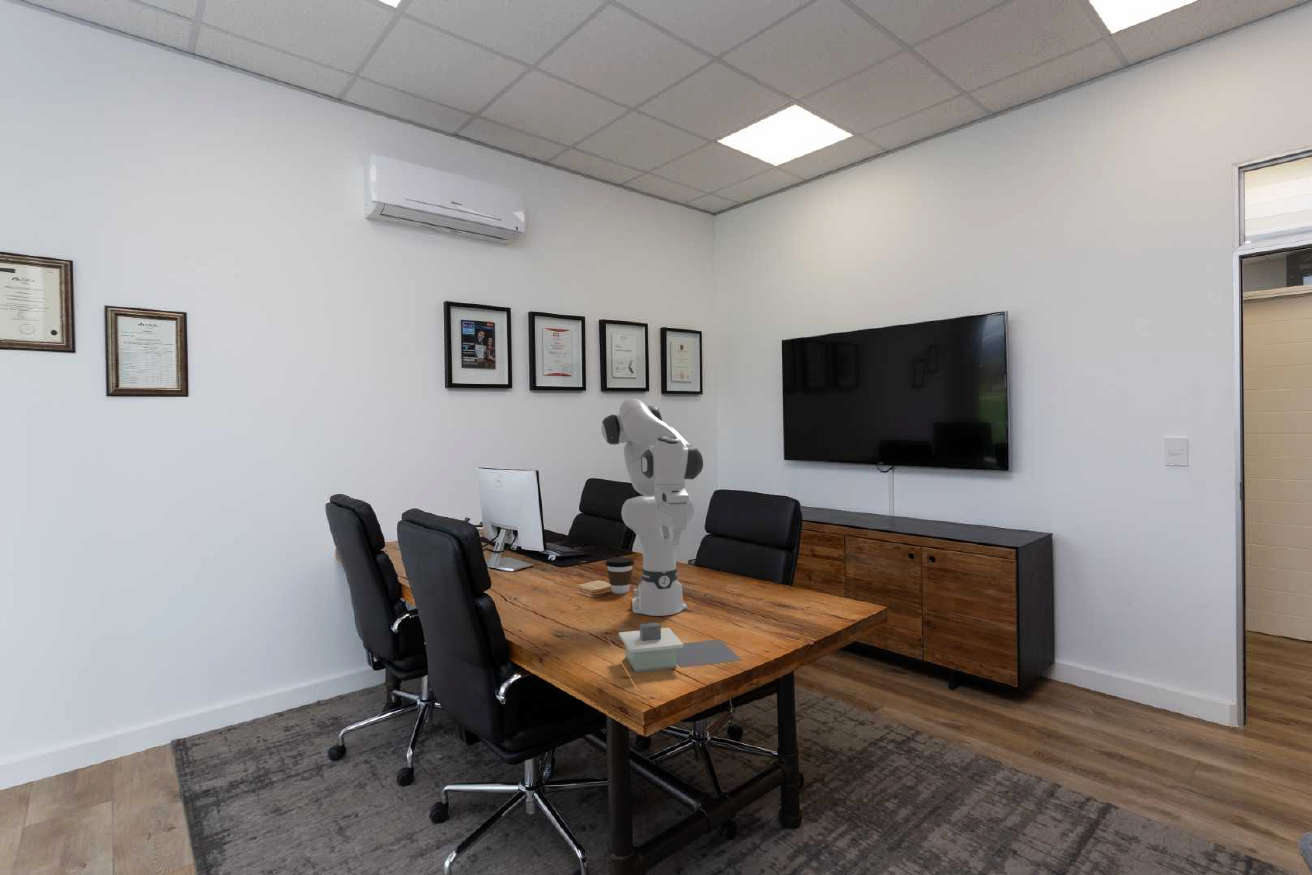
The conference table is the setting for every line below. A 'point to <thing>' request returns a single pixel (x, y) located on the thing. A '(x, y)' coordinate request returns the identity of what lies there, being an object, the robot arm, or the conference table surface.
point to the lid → (650, 638)
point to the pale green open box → (652, 660)
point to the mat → (704, 653)
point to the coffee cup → (620, 573)
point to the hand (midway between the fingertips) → (670, 541)
